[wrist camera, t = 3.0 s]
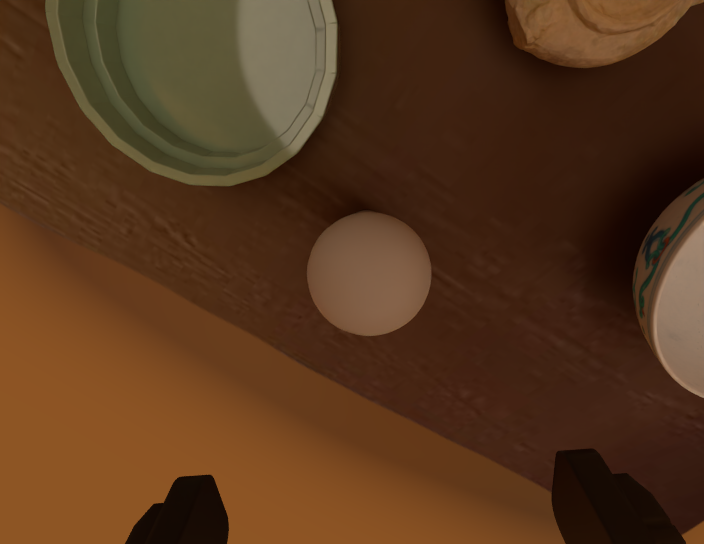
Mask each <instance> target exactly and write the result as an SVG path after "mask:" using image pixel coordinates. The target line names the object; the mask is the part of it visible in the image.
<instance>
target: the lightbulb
mask: <svg viewBox="0 0 704 544" xmlns="http://www.w3.org/2000/svg"><path fill="white" fill-rule="evenodd" d="M307 280H308V286H309V291H310V294H311V296H312V299H313V301H314V303H315V305H316V306H317V308H318V309H319V311H320V312H321V314H322V315H323V316H324V317H325V318H326V319H327V320H328V321H329V322H330V323H332V324H333V325H335V326H336V327H338V328H340V329H342V330H344V331H346V332H349V333H353V334H357V335H365V336H374V335H381V334H385V333H389V332H392V331H394V330H396V329H399V328H400V327H402V326H403V325H405V324H407V323H408V322H409V321H410V320H411V319H412V318H413V317H414V316H415V315H416V314H417V313H418V311H419V310H420V309H421V307H422V306H423V304H424V302H425V299H426V297H427V295H428V293H429V288H430V283H431V264H430V260H429V255H428V253H427V250H426V248H425V246H424V244H423V242H422V240H421V239H420V238H419V236H418V235H417V234H416V232H415V231H414V230H412V229H411V228H410V227H409V226H408V225H406V224H405V223H403V222H402V221H400V220H398V219H396V218H394V217H392V216H389V215H386V214H383V213H377V212H375V211H372V210H362V211H359V212H357V213H355V214H352V215H349V216H346V217H344V218H342V219H340V220H338V221H336V222H335V223H334V224H332V225H331V226H330V227H328V228H327V229H326V230H325V231H324V232H323V233H322V234H321V236H320V237H319V238H318V239H317V241H316V243H315V245H314V246H313V248H312V251H311V254H310V258H309V261H308V266H307Z"/></svg>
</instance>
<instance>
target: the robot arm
mask: <svg viewBox="0 0 704 544" xmlns="http://www.w3.org/2000/svg"><path fill="white" fill-rule="evenodd" d="M552 506H553V511H554V516H555V519H556V522H557V525H558V527H559V530H560V532H561V534H562V537H563V539H564V541H565V543H566V544H686V542H685V540H684V539H683V537H682V536H681V535H680V533H679V532H678V530H677V529H676V527H675V526H674V525H672V524H671V522H670V519H669V518H668V516H667V515H666V513H665V512H664V510H663V509H662V508H661V506H660V505H659V503H658V502H657V501H656V499H655V498H654V496H653V495H652V494H651V493H650V492H649V491H648V490H646V489H645V488H644V487H643V486H642V485H640V484H639V483H638V482H637V481H635V480H634V479H633V478H632V477H631V476H629V475H628V474H627V473H622V474H612V473H611V471H610V470H609V468H608V466H607V465H606V463H605V462H604V460H603V459H602V457H601V456H600V454H599V453H598V452H597V451H596V450H595V449H578V450H564V451H558V452H557V453H556V457H555V467H554V477H553V487H552ZM228 531H229V524H228V516H227V513H226V510H225V508H224V505H223V502H222V500H221V497H220V494H219V491H218V488H217V486H216V483H215V480H214V478H213V476H211V475H199V476H184V477H179V478H177V479H176V480H175V481H174V483H173V485H172V487H171V489H170V491H169V493H168V495H167V497H166V499H165V501H164V503H158V504H153V505H152V506H151V507H150V509H149V510H148V511H147V512H146V513H145V514H144V515H143V517H142V518H141V519H140V520H139V521H138V522H137V523H136V524H135V526H134V527H133V529H132V531H131V533H130V535H129V537H128V539H127V541H126V543H125V544H227V540H228Z"/></svg>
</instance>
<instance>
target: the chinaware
mask: <svg viewBox="0 0 704 544" xmlns="http://www.w3.org/2000/svg"><path fill="white" fill-rule="evenodd" d="M633 299H634V305H635V310H636V314H637V318H638V321H639V324H640V327H641V329H642V331H643V334H644V336H645V338H646V340H647V342H648V344H649V346H650V348H651V349H652V351H653V353H654V354H655V356H656V357H657V359H658V360H659V362H660V363H661V365H662V366H663V367H664V369H665V370H666V371H667V373H668V374H669V375H670V376H671V377H672V378H673V379H674V380H675V381H676V382H678V383H679V384H680V385H681V386H683V387H684V388H686V389H687V390H689V391H690V392H692V393H694V394H696V395H698V396H700V397H703V398H704V178H703V179H701V180H700V181H698V182H697V183H695V184H694V185H692V186H691V187H690V188H688V189H687V190H686V191H684V192H683V193H682V194H681V195H679V196H678V197H677V198H676V199H675V200H674V201H673V202H672V203H671V204H670V205H669V206H668V207H667V208H666V209H665V210H664V211H663V212H662V213H661V215H660V216H659V217H658V218H657V220H656V221H655V222H654V224H653V225H652V227H651V228H650V230H649V231H648V233H647V235H646V237H645V239H644V241H643V243H642V245H641V247H640V250H639V253H638V256H637V259H636V263H635V268H634V274H633Z"/></svg>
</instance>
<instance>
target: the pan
mask: <svg viewBox="0 0 704 544" xmlns="http://www.w3.org/2000/svg"><path fill="white" fill-rule="evenodd" d="M45 11H46V12H45V14H46V18H47V22H48V27H49V31H50V35H51V40H52V44H53V49H54V53H55V57H56V61H57V64H58V66H59V68H60V70H61V72H62V74H63V76H64V78H65V80H66V82H67V84H68V86H69V88H70V90H71V91H72V93H73V95H74V97H75V99H76V101H77V103H78V105H79V107H80V108H81V110H82V111H83V112H84V114H85V115H86V116H87V117H88V118H89V119H90V121H91V122H92V123H93V124H94V125H95V126H96V127H97V129H98V130H99V131H100V132H101V133H102V134H103V135H104V137H105V138H106V139H107V140H108V141H109V142H110V143H111V145H113V146H114V147H116V148H117V149H118V150H120V151H121V152H123V153H124V154H126V155H127V156H129V157H130V158H131V159H133V160H134V161H136V162H137V163H139V164H140V165H142V166H143V167H144V168H146V169H147V170H150V171H151V172H153V173H156V174H159V175H162V176H165V177H168V178H171V179H174V180H176V181H179V182H182V183H185V184H188V185H189V184H190V185H202V186H227V187H228V186H233V185H236V184H240V183H243V182H247V181H250V180H254V179H257V178H260V177H264V176H266V175H268V174H269V173H271V172H272V171H274V170H275V169H276V168H278V167H279V166H281V165H282V164H283V163H285V162H286V161H288V160H289V159H290V158H292V157H293V156H295V155H296V154H297V153H298V152H299V151H300V150H301V149H302V148H303V147H304V146H305V144H306V143H307V142H308V141H309V139H310V138H311V136H312V135H313V134H314V132H315V131H316V129H317V128H318V127H319V125H320V124H321V122H322V121H323V120H324V118H325V117H326V115H327V114H328V112H329V109H330V106H331V102H332V99H333V96H334V93H335V90H336V87H337V84H338V81H339V77H340V65H341V29H340V25H339V21H338V17H337V13H336V9H335V5H334V2H333V0H45Z"/></svg>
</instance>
